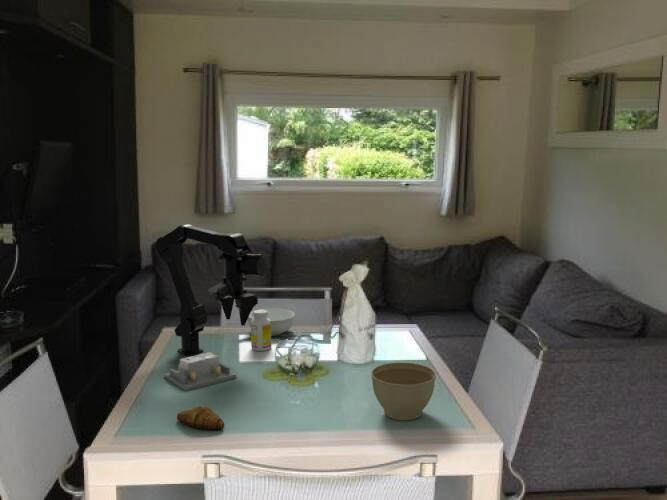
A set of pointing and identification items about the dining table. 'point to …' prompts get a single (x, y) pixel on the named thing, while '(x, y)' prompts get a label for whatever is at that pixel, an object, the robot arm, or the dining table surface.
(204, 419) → the croissant
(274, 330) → the cereal bowl
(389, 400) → the planter bowl
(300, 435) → the dining table surface
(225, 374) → the tray
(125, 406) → the dining table surface
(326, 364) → the dining table surface
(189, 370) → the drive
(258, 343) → the supplement bottle
